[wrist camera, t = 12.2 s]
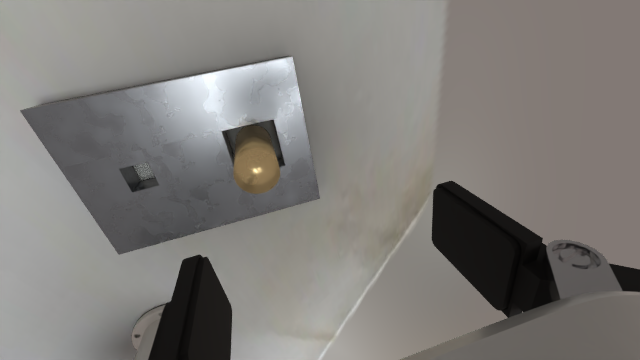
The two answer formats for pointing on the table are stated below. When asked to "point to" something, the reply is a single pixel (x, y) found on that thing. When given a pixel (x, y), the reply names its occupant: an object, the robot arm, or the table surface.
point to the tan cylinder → (255, 160)
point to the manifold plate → (177, 150)
